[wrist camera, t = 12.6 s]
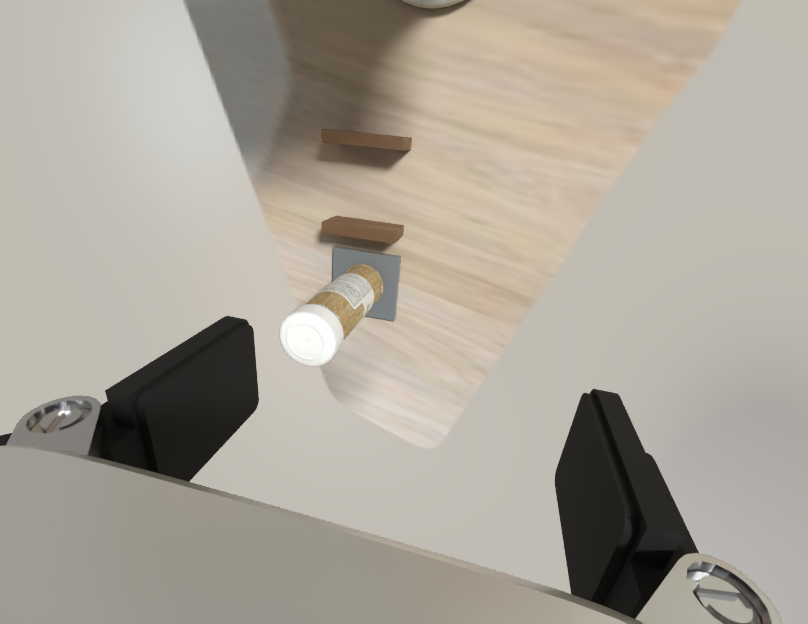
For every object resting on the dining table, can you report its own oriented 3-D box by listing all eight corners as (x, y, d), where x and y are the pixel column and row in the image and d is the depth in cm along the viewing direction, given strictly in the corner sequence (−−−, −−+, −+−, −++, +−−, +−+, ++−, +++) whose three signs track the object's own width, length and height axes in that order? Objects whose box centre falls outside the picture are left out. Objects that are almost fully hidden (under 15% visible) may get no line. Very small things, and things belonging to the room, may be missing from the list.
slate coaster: (335, 245, 40) (333, 247, 40) (401, 256, 39) (399, 257, 39) (334, 307, 43) (332, 309, 43) (395, 318, 42) (393, 321, 42)
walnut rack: (337, 130, 36) (321, 128, 33) (411, 137, 35) (402, 137, 32) (335, 225, 40) (321, 232, 36) (402, 235, 38) (394, 243, 35)
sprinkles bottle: (367, 311, 42) (312, 379, 30) (335, 283, 41) (266, 340, 29) (394, 283, 40) (346, 343, 28) (360, 252, 39) (297, 300, 27)
